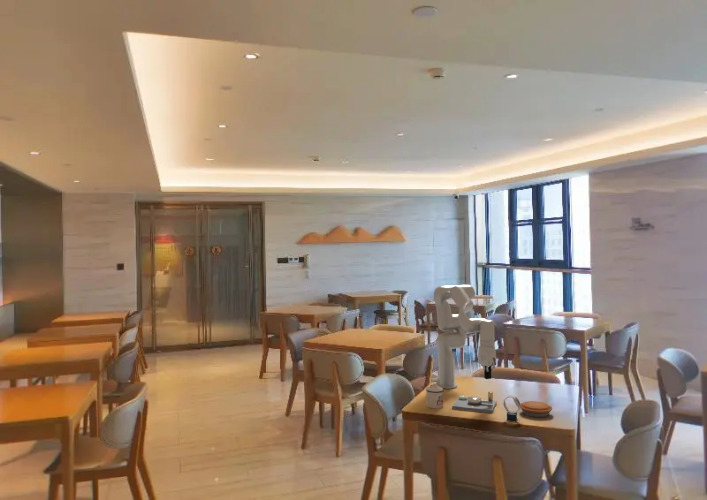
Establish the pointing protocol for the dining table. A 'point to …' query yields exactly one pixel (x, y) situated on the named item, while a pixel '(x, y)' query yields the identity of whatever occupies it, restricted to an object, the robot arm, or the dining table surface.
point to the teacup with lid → (434, 396)
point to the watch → (512, 414)
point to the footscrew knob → (479, 400)
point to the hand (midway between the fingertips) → (487, 378)
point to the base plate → (473, 405)
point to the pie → (535, 409)
